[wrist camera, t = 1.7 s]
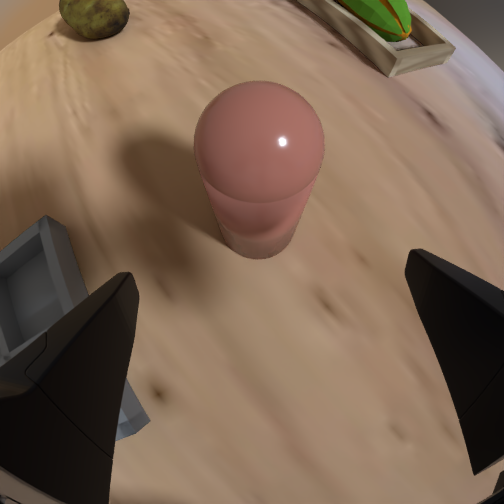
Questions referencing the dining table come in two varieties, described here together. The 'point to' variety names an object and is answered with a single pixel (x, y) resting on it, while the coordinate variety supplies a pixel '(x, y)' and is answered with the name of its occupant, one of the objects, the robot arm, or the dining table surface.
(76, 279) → the gray compartment tray
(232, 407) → the dining table surface
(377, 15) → the corn
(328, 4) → the frame
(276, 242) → the pink dome-topped cylinder
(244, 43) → the dining table surface
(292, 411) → the dining table surface
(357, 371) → the dining table surface
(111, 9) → the potato
